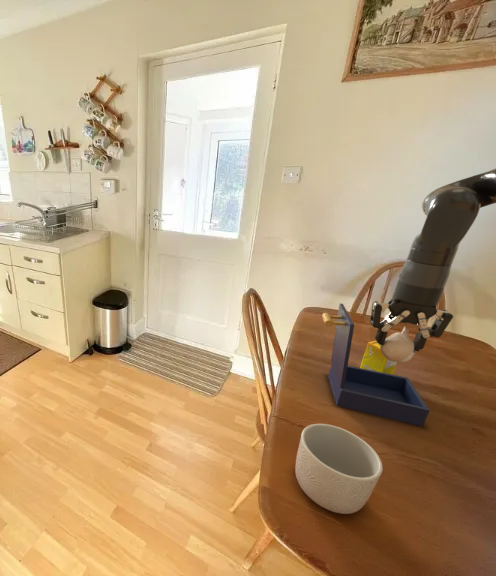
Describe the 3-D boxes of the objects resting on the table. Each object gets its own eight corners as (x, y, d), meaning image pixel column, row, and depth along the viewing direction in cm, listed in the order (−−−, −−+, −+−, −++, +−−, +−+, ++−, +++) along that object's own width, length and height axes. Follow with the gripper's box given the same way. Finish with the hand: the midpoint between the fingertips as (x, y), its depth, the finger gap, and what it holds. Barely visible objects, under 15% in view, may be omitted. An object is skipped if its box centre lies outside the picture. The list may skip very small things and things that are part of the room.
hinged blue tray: (401, 393, 88) (408, 377, 86) (422, 427, 76) (429, 410, 74) (327, 377, 95) (332, 362, 93) (336, 406, 83) (341, 390, 81)
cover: (342, 303, 86) (320, 302, 89) (354, 324, 75) (328, 322, 77) (334, 361, 92) (313, 358, 94) (343, 389, 81) (320, 385, 83)
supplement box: (370, 368, 98) (381, 338, 94) (391, 380, 93) (403, 348, 89) (357, 372, 96) (367, 341, 93) (377, 384, 91) (389, 352, 87)
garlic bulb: (418, 365, 74) (430, 335, 71) (395, 368, 73) (406, 338, 70) (390, 350, 80) (400, 322, 77) (368, 353, 79) (378, 324, 76)
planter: (287, 454, 69) (297, 416, 65) (354, 474, 65) (369, 434, 61) (294, 507, 59) (306, 465, 55) (374, 534, 54) (395, 490, 50)
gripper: (386, 282, 68) (364, 347, 74) (475, 291, 63) (444, 361, 69) (375, 272, 75) (356, 333, 81) (456, 279, 69) (429, 345, 75)
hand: (397, 346), depth 75 cm, fingers closed on garlic bulb, 6 cm apart
